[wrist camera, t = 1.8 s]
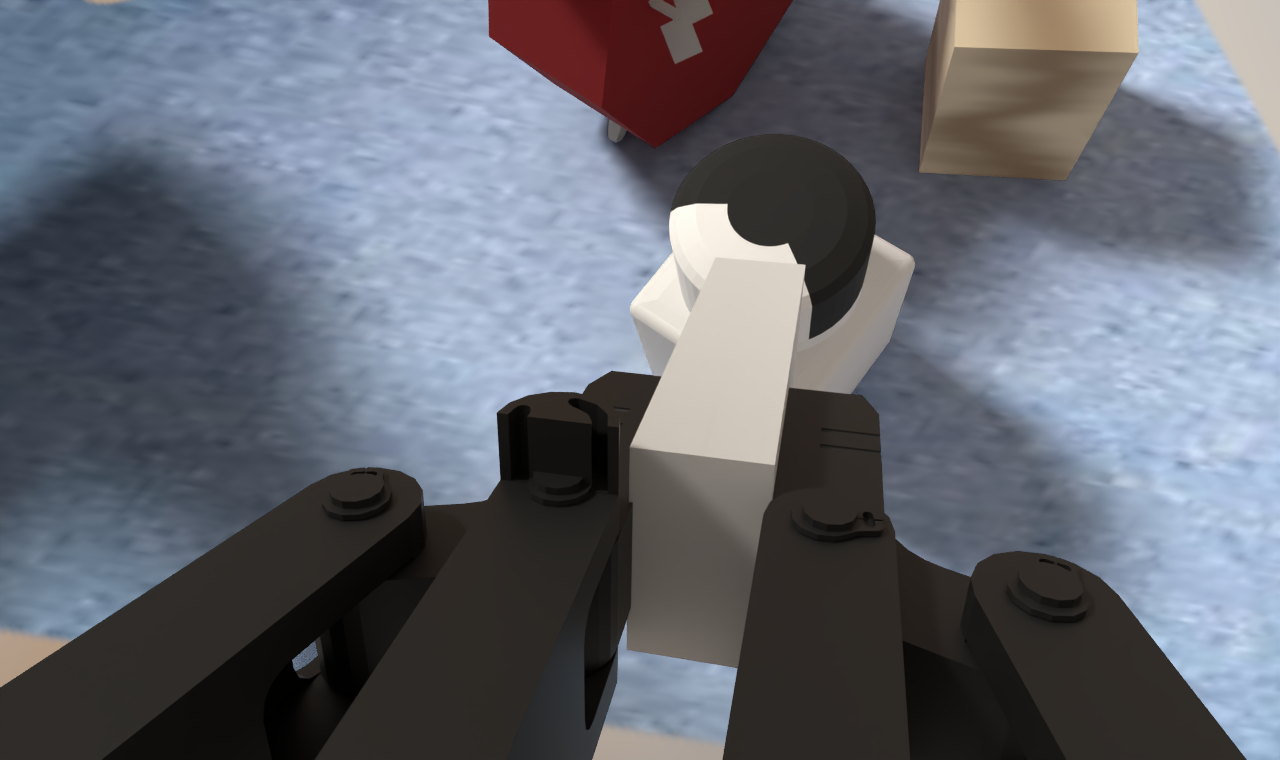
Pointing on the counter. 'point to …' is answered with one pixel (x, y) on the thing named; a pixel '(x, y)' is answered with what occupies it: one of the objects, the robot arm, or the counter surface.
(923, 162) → the beech block
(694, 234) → the medicine bottle
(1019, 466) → the counter surface
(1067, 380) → the counter surface
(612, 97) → the alarm clock
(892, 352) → the counter surface
